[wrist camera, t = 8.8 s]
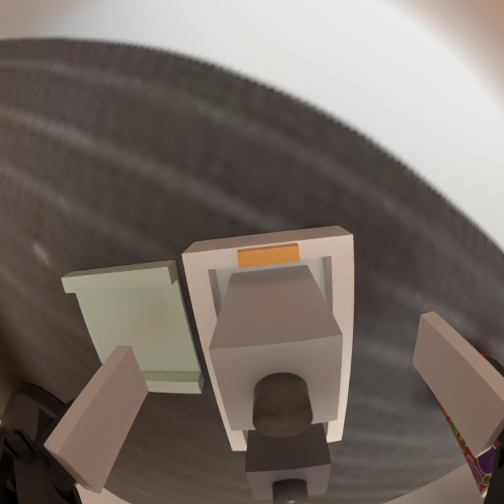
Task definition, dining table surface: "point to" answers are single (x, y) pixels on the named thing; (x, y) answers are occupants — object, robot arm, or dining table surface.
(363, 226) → the dining table surface
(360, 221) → the dining table surface
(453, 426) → the smoothie
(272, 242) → the cream rectangular tray
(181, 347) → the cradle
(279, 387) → the plug
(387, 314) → the dining table surface
